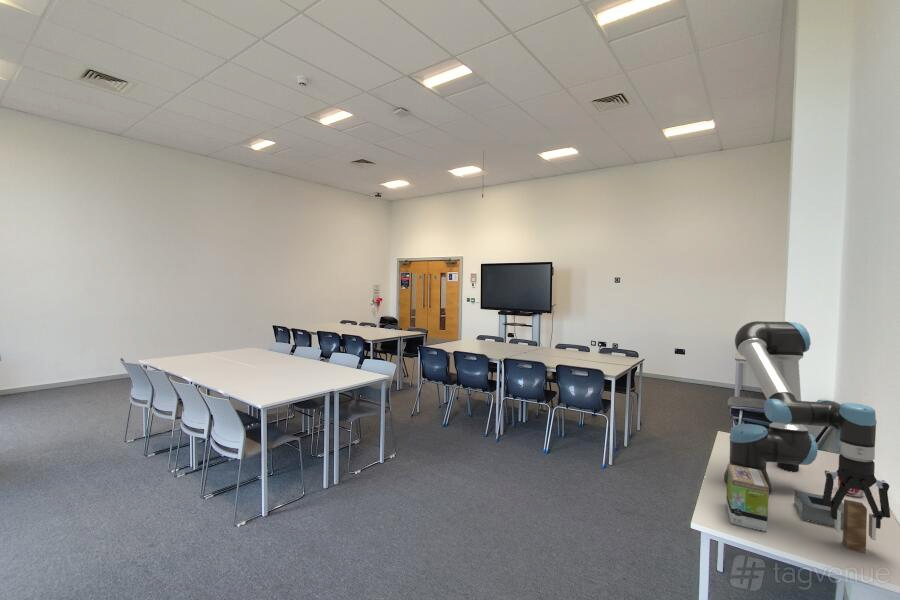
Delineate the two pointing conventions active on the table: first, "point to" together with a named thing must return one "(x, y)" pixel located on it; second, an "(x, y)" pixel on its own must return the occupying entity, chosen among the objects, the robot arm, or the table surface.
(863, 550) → the walnut peg
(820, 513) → the socket block
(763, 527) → the tea box
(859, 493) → the soda can
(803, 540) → the table surface
